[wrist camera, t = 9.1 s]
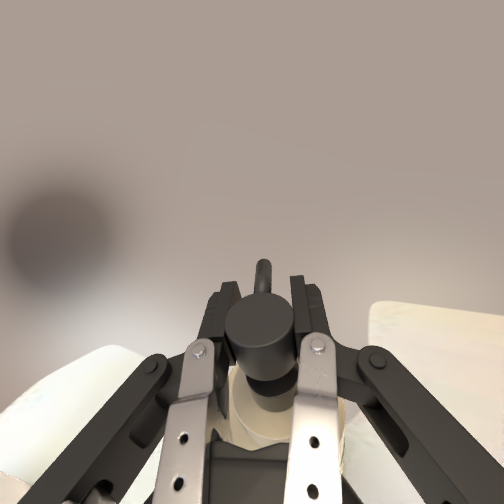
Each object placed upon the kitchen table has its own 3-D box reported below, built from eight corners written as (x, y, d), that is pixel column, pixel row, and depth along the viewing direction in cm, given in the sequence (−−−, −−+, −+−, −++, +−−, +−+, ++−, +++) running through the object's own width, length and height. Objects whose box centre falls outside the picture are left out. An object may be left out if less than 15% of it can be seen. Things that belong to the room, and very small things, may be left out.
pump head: (304, 400, 11) (297, 346, 9) (239, 400, 11) (217, 349, 9) (294, 300, 16) (287, 250, 14) (250, 303, 16) (238, 256, 14)
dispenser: (352, 539, 17) (371, 463, 9) (253, 531, 18) (183, 457, 10) (331, 423, 23) (330, 310, 15) (258, 422, 24) (217, 318, 16)
